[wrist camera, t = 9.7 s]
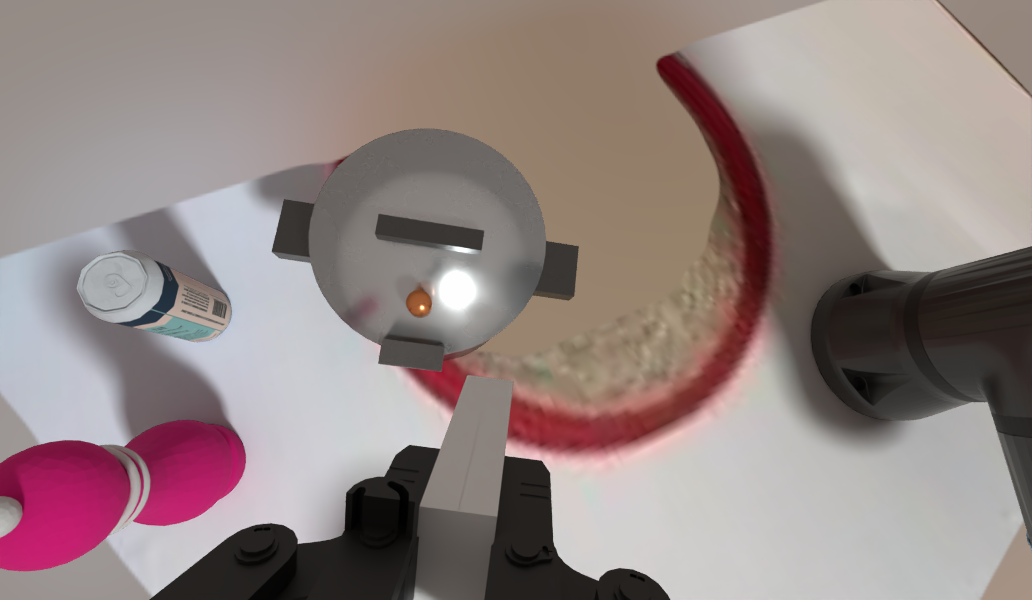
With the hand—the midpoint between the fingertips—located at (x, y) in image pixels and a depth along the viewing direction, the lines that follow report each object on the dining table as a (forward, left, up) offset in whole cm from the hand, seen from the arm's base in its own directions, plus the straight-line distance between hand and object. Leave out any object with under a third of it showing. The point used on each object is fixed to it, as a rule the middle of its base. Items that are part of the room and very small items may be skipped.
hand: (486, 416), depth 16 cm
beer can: (+23, -5, -29) cm, 37 cm away
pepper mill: (+20, +7, -29) cm, 36 cm away
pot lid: (+4, -11, -17) cm, 21 cm away
